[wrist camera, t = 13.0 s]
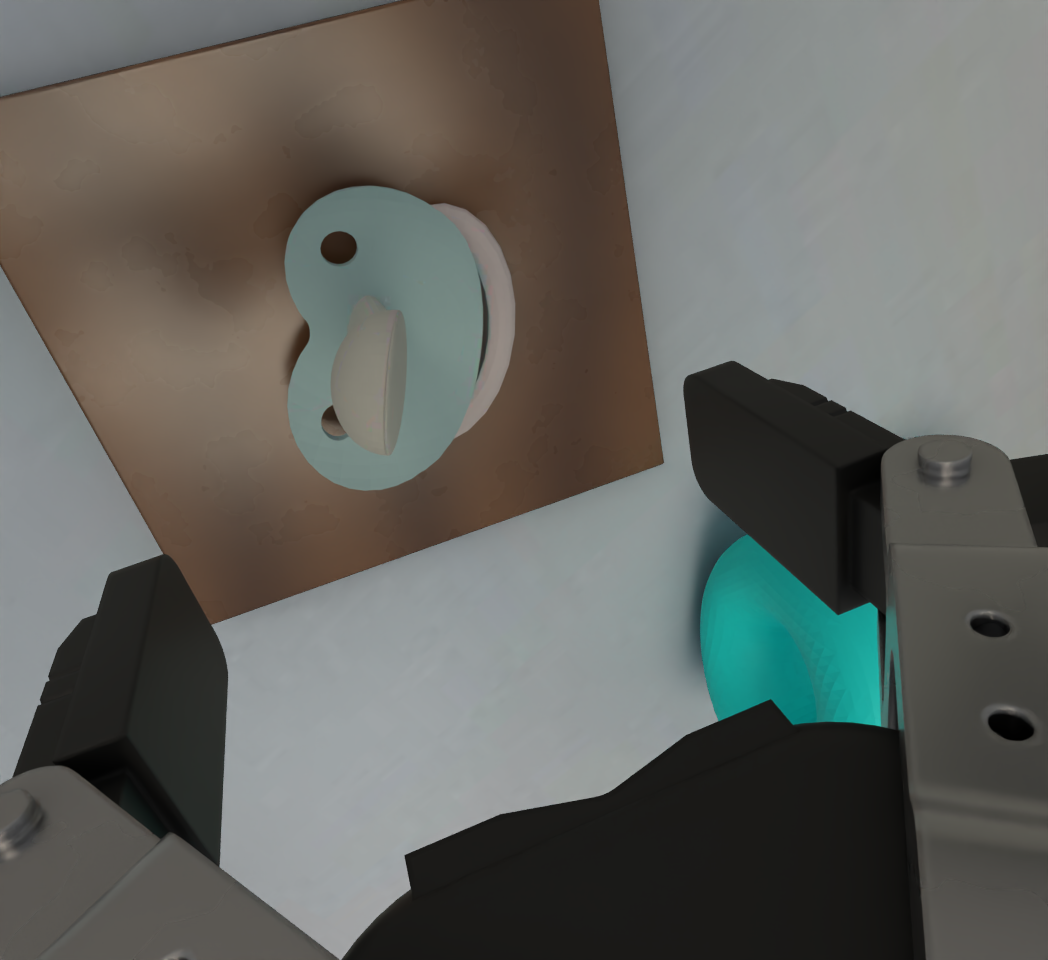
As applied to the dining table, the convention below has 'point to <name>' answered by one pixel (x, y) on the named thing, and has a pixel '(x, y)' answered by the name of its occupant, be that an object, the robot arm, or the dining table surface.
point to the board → (259, 253)
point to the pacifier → (395, 333)
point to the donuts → (784, 644)
